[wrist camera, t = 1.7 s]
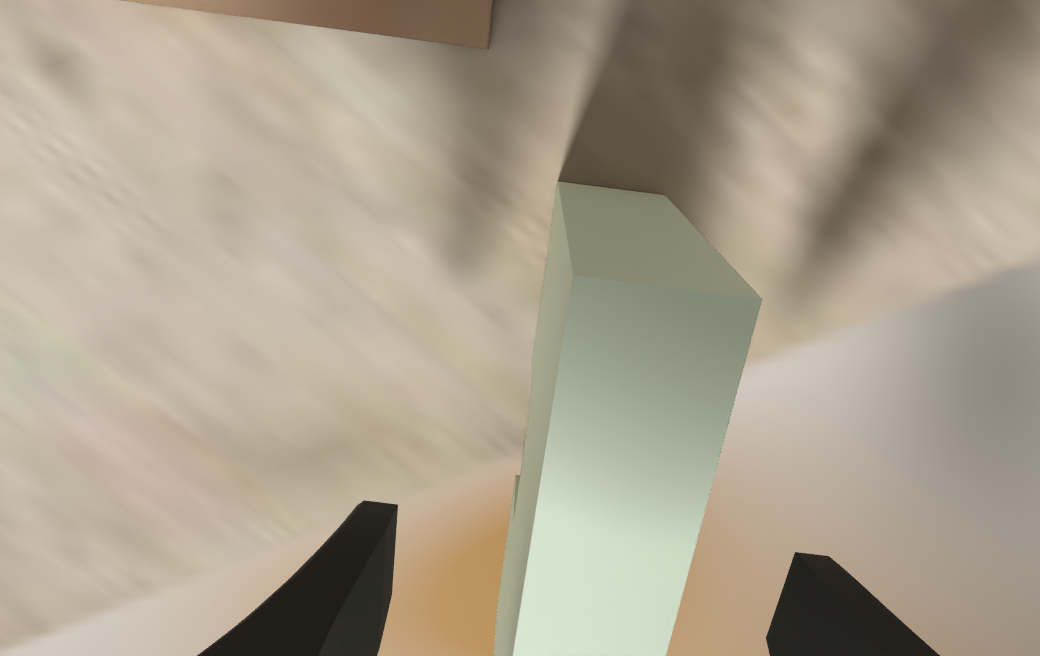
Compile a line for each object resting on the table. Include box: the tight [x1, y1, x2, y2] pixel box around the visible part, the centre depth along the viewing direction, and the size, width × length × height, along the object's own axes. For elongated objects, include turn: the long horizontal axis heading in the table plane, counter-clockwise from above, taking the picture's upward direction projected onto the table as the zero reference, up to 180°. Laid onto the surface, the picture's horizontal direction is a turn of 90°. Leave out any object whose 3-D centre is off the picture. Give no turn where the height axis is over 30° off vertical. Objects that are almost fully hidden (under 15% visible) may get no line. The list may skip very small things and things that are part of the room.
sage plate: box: [494, 181, 762, 656], centre depth 14 cm, size 12×2×7 cm, turn 173°
